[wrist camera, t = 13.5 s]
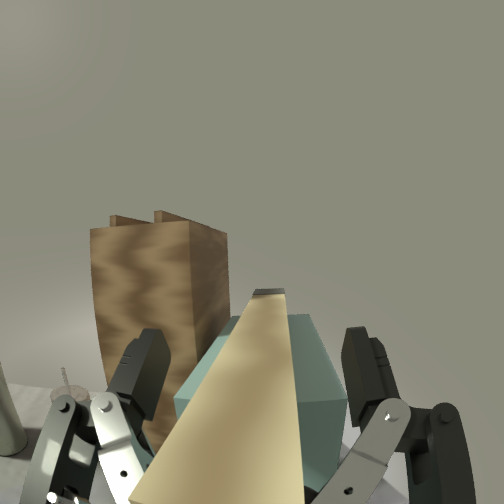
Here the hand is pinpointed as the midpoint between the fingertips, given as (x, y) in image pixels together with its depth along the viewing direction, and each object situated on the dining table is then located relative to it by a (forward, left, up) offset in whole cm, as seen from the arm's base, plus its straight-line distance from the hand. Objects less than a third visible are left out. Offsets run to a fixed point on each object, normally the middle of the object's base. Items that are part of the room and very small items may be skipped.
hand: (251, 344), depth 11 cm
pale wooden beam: (0, +8, -4) cm, 9 cm away
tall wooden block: (-13, +24, -25) cm, 37 cm away
